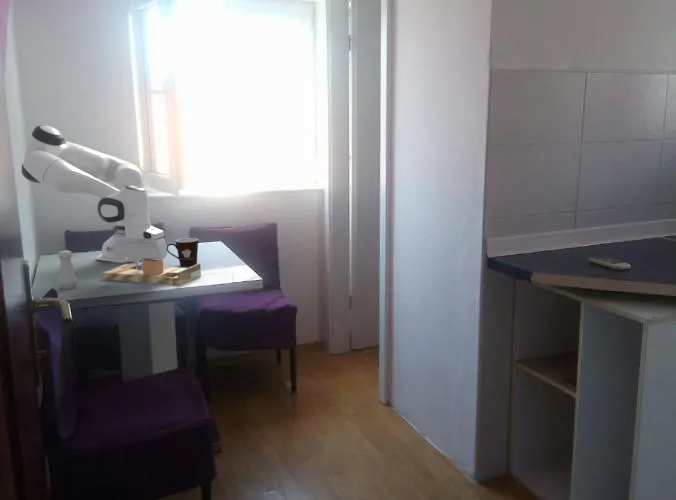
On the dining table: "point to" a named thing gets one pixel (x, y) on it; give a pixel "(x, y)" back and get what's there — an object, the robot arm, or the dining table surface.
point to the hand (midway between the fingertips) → (141, 269)
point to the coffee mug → (186, 251)
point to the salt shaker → (66, 271)
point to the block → (152, 267)
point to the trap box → (167, 277)
